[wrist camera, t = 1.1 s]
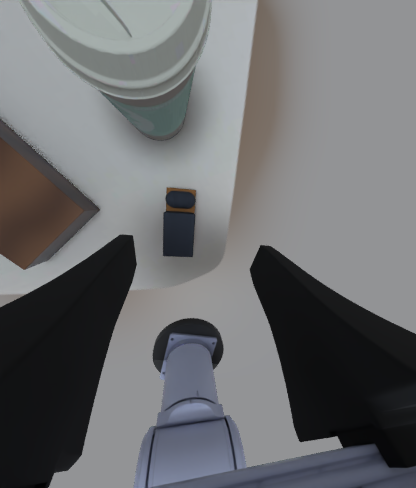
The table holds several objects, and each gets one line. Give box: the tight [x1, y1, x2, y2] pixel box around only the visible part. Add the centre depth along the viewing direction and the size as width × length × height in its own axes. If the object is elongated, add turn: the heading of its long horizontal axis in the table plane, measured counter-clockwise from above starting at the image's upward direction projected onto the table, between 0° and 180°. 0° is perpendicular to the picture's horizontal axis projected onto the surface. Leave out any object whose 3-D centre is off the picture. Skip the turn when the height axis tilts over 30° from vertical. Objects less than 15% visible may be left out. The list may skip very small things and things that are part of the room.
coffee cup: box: [19, 0, 212, 140], centre depth 11 cm, size 8×8×12 cm
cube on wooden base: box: [163, 188, 196, 257], centre depth 18 cm, size 7×3×5 cm, turn 175°
